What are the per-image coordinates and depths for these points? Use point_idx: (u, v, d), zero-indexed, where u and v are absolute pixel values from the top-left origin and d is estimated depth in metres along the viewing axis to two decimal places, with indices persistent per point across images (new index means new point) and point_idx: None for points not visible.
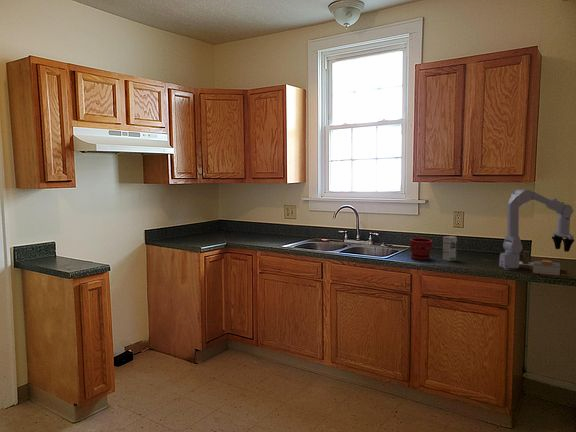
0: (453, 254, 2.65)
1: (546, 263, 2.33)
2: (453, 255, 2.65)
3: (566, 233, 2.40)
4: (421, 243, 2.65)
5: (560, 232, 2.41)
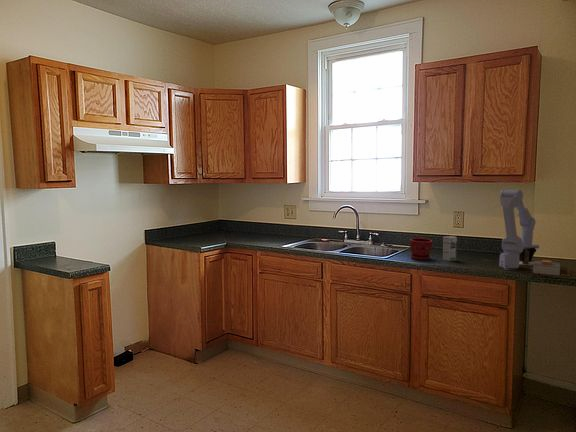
0: (453, 254, 2.65)
1: (546, 263, 2.33)
2: (453, 255, 2.65)
3: None
4: (421, 243, 2.65)
5: None
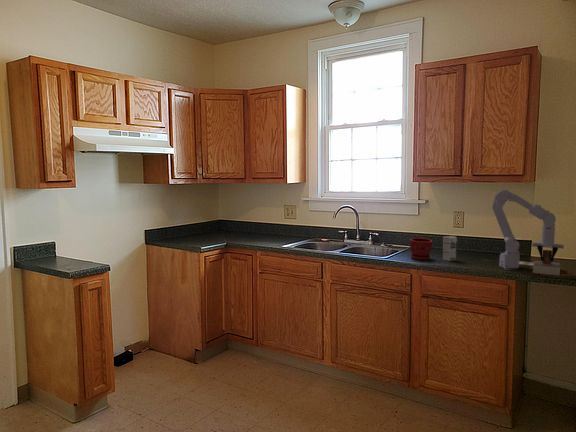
0: (453, 254, 2.65)
1: None
2: (453, 255, 2.65)
3: None
4: (421, 243, 2.65)
5: None
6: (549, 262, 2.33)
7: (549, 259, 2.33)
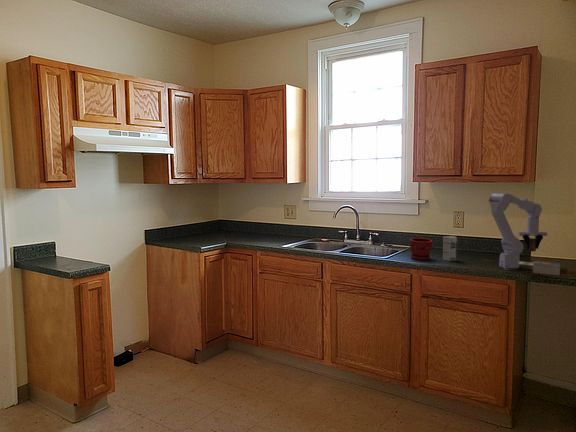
0: (453, 254, 2.65)
1: None
2: (453, 255, 2.65)
3: (527, 231, 2.47)
4: (421, 243, 2.65)
5: None
6: (535, 249, 2.47)
7: (535, 247, 2.46)
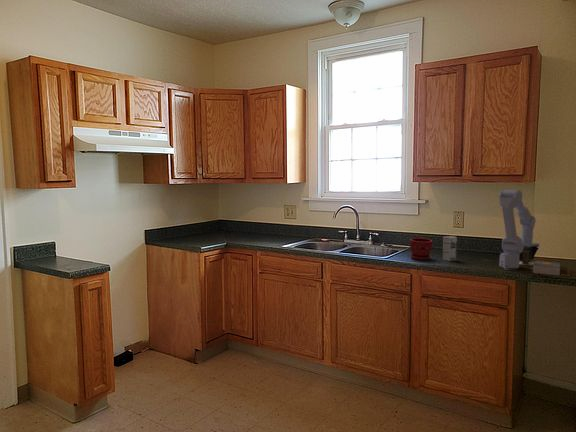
0: (453, 254, 2.65)
1: None
2: (453, 255, 2.65)
3: None
4: (421, 243, 2.65)
5: None
6: (528, 262, 2.52)
7: (528, 259, 2.52)
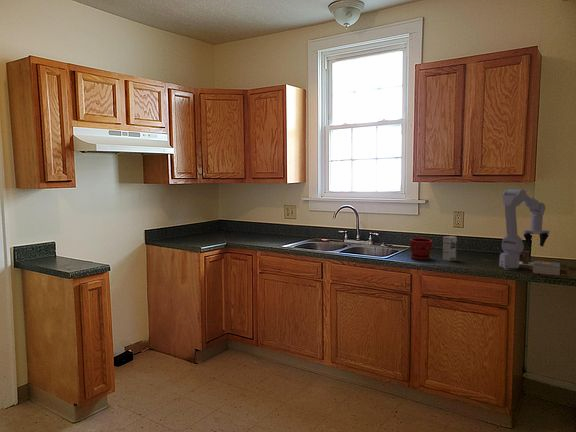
0: (453, 254, 2.65)
1: None
2: (453, 255, 2.65)
3: (531, 229, 2.54)
4: (421, 243, 2.65)
5: None
6: (528, 262, 2.52)
7: (528, 259, 2.52)
